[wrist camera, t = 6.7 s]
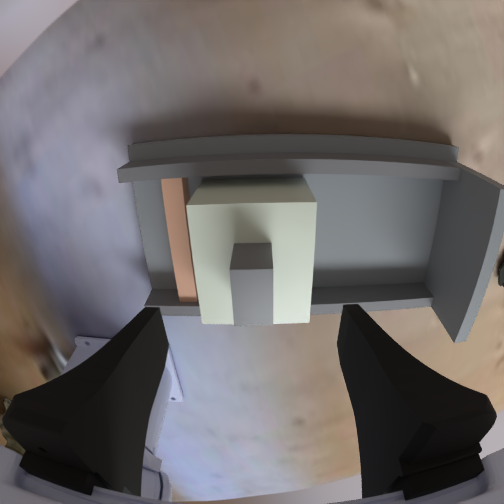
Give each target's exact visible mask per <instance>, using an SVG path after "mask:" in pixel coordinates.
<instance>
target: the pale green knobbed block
mask: <svg viewBox="0 0 504 504" xmlns="http://www.w3.org/2000/svg"><path fill="white" fill-rule="evenodd" d="M186 207H187V216H188V225H189V233H190V241H191V249H192V257H193V264H194V271H195V279H196V286H197V292H198V299H199V306H200V312H201V319H202V324H234V326H262V325H273V324H281V323H309V318H310V307H311V294H312V281H313V267H314V251H315V234H316V213H317V201H316V199H315V197H314V195H313V193H312V192H311V190H310V188H309V186H308V184H307V182H306V180H305V178H248V179H220V180H202V181H201V183H200V184H199V186H198V188H197V189H196V191H195V192H194V194H193V196H192V197H191V199H190V200H189V202H188V204H187V205H186Z"/></svg>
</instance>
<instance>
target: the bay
mask: <svg viewBox="0 0 504 504" xmlns="http://www.w3.org/2000/svg"><path fill="white" fill-rule="evenodd" d="M458 151H459V148H458V147H456V146H453V145H447V144H439V143H431V142H423V141H414V140H404V139H394V138H382V137H368V136H351V135H326V134H251V135H226V136H209V137H195V138H182V139H171V140H161V141H152V142H143V143H135V144H131V145H129V146H128V152H129V160H130V162H128V163H127V164H125V165H123V166H122V167H120V168H118V169H117V173H118V180H119V183H123V182H133V189H134V195H135V202H136V208H137V214H138V220H139V226H140V231H141V237H142V242H143V247H144V252H145V257H146V262H147V267H148V272H149V276H150V281H151V286H152V291H151V293H150V295H149V297H148V299H147V301H146V303H145V305H144V306H145V307H160V311H161V315H167V316H201V312H200V306H199V299H198V292H197V286H196V279H195V271H194V264H193V257H192V249H191V241H190V233H189V225H188V216H187V207H186V205H187V204H188V202H189V200H190V199H191V197H192V196H193V194H194V192H195V191H196V189H197V188H198V186H199V184H200V183H201V181H202V180H220V179H248V178H305V180H306V182H307V184H308V186H309V188H310V190H311V192H312V193H313V195H314V197H315V199H316V201H317V213H316V234H315V251H314V267H313V281H312V294H311V307H310V315H313V314H335V313H342V309H343V305H345V304H359V305H360V306H361V307H362V308H363V309H364V311H365V312H370V311H384V310H397V309H409V308H421V307H432V308H433V310H434V312H435V313H436V315H437V316H438V318H439V319H440V321H441V323H442V324H443V326H444V327H445V329H446V331H447V332H448V334H449V335H450V337H451V339H452V340H453V342H454V343H458V342H463V341H466V339H467V337H468V335H469V333H470V330H471V328H472V326H473V323H474V321H475V318H476V316H477V313H478V311H479V308H480V306H481V303H482V300H483V298H484V295H485V292H486V289H487V286H488V283H489V280H490V277H491V274H492V271H493V268H494V265H495V262H496V258H497V255H498V251H499V248H500V244H501V241H502V237H503V233H504V185H502V184H500V183H498V182H496V181H494V180H492V179H491V178H489V177H487V176H485V175H483V174H481V173H479V172H477V171H475V170H473V169H471V168H469V167H466V166H464V165H462V164H460V163H458V162H457V160H458Z"/></svg>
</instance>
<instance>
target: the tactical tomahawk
mask: <svg viewBox="0 0 504 504" xmlns="http://www.w3.org/2000/svg"><path fill="white" fill-rule="evenodd" d="M498 284H499V285H500V286H503V287H504V261H503V264H502V265H501V267H500V268H499V277H498Z"/></svg>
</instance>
